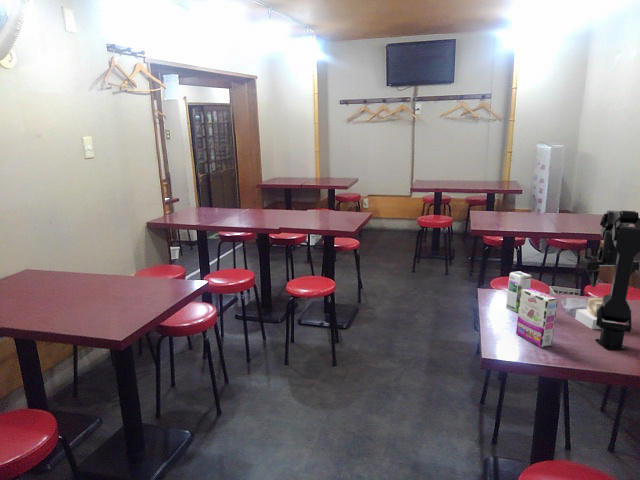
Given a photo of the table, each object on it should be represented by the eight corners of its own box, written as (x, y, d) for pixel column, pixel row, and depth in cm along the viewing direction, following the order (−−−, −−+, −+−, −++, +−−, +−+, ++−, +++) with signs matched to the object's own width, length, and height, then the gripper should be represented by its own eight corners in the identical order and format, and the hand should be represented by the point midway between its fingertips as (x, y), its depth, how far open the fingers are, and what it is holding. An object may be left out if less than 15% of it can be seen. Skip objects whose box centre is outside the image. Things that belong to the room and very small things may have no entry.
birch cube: (609, 316, 159) (611, 303, 157) (594, 316, 159) (596, 303, 157) (600, 310, 163) (602, 298, 162) (586, 311, 163) (588, 298, 162)
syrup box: (505, 307, 176) (508, 272, 173) (516, 305, 179) (519, 270, 175) (516, 312, 171) (520, 277, 168) (528, 310, 174) (532, 274, 170)
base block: (615, 329, 158) (617, 318, 157) (591, 330, 157) (593, 319, 156) (597, 318, 167) (599, 308, 166) (575, 319, 166) (576, 309, 165)
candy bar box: (552, 345, 146) (559, 298, 142) (541, 348, 144) (547, 300, 140) (526, 331, 156) (531, 287, 152) (515, 333, 154) (520, 289, 150)
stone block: (569, 321, 168) (598, 317, 166) (567, 309, 168) (596, 305, 165) (558, 309, 180) (585, 306, 178) (557, 298, 179) (584, 295, 177)
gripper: (623, 239, 168) (617, 279, 172) (573, 240, 168) (568, 279, 172) (644, 247, 157) (637, 289, 161) (591, 248, 157) (584, 289, 161)
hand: (605, 286), depth 164 cm, fingers open, 9 cm apart
